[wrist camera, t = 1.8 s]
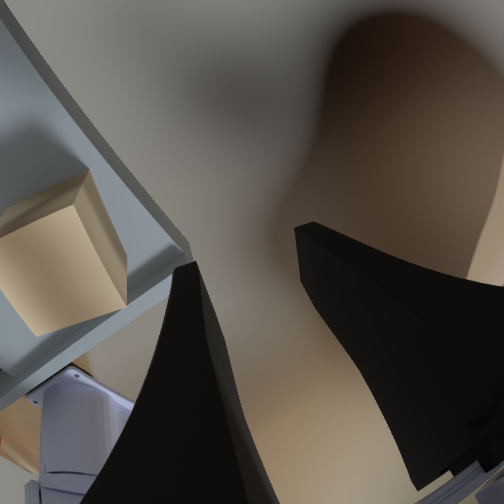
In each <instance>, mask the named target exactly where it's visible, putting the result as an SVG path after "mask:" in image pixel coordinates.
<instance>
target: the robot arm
mask: <svg viewBox="0 0 504 504" xmlns="http://www.w3.org/2000/svg"><path fill="white" fill-rule="evenodd" d="M294 231H295V238H296V246H297V254H298V262H299V270H300V279H301V283H302V284H303V286H304V288H305V290H306V292H307V294H308V296H309V298H310V299H311V301H312V303H313V305H314V307H315V308H316V310H317V311H318V313H319V314H320V316H321V317H322V318H323V320H324V321H325V323H326V324H327V325H328V327H329V328H330V330H331V331H332V332H333V334H334V335H335V336H336V338H337V339H338V341H339V342H340V343H341V345H342V346H343V348H344V349H345V350H346V352H347V353H348V354H349V356H350V357H351V359H352V360H353V362H354V363H355V365H356V366H357V368H358V369H359V371H360V372H361V374H362V376H363V378H364V380H365V382H366V383H367V385H368V387H369V389H370V391H371V392H372V394H373V396H374V398H375V400H376V402H377V404H378V406H379V408H380V410H381V412H382V414H383V416H384V418H385V420H386V422H387V424H388V426H389V429H390V430H391V433H392V435H393V437H394V439H395V442H396V444H397V446H398V449H399V451H400V453H401V456H402V458H403V461H404V463H405V466H406V468H407V471H408V473H409V476H410V479H411V481H412V483H413V485H414V486H415V488H416V489H417V491H419V490H421V489H423V488H424V487H426V486H427V485H429V484H430V483H432V482H433V481H434V480H436V479H438V478H439V477H440V476H442V475H443V474H445V473H446V472H448V471H449V470H450V472H451V473H452V475H453V476H454V477H453V478H452V479H451V480H449V481H448V482H446V483H445V484H444V485H442V486H441V487H439V488H438V489H436V490H435V491H434V492H432V493H431V494H429V495H427V496H426V497H424V498H423V499H421V500H420V501H418V502H416V503H415V504H458V503H459V502H460V501H462V500H463V499H464V498H466V497H467V496H468V495H469V494H470V493H472V492H473V491H474V490H476V489H477V488H478V487H479V486H480V485H482V484H483V483H484V482H485V481H486V480H487V479H489V478H490V477H491V476H492V475H493V474H494V473H495V472H496V471H498V470H499V469H500V468H501V467H502V466H503V465H504V287H502V286H495V285H490V284H485V283H480V282H475V281H471V280H467V279H462V278H458V277H454V276H450V275H447V274H443V273H440V272H437V271H434V270H431V269H427V268H424V267H421V266H418V265H415V264H412V263H410V262H407V261H404V260H402V259H399V258H397V257H394V256H392V255H389V254H386V253H384V252H382V251H379V250H377V249H375V248H372V247H370V246H368V245H366V244H363V243H361V242H359V241H357V240H354V239H352V238H350V237H348V236H345V235H344V234H341V233H339V232H337V231H335V230H333V229H330V228H328V227H326V226H323V225H321V224H319V223H316V222H310V223H307V224H304V225H301V226H298V227H295V228H294ZM27 400H28V401H29V402H31V403H33V404H35V405H36V406H38V407H40V408H42V417H41V433H40V475H39V481H38V482H37V481H35V480H30V482H29V483H27V484H25V504H280V503H279V501H278V499H277V496H276V495H275V492H274V490H273V487H272V485H271V483H270V480H269V478H268V476H267V473H266V471H265V468H264V466H263V463H262V461H261V458H260V456H259V454H258V451H257V449H256V446H255V443H254V441H253V438H252V436H251V433H250V430H249V428H248V425H247V423H246V420H245V417H244V414H243V410H242V407H241V404H240V400H239V396H238V392H237V388H236V384H235V380H234V376H233V372H232V368H231V363H230V360H229V355H228V351H227V347H226V343H225V339H224V336H223V333H222V331H221V328H220V325H219V322H218V319H217V316H216V313H215V310H214V308H213V305H212V303H211V300H210V297H209V295H208V292H207V289H206V287H205V284H204V281H203V278H202V276H201V273H200V270H199V267H198V265H197V262H196V261H194V262H191V263H188V264H185V265H182V266H179V267H176V268H175V269H174V271H173V274H172V282H171V288H170V294H169V299H168V303H167V308H166V312H165V316H164V320H163V324H162V328H161V332H160V335H159V338H158V342H157V345H156V349H155V352H154V355H153V358H152V361H151V364H150V367H149V370H148V372H147V375H146V378H145V380H144V383H143V385H142V388H141V391H140V393H139V395H138V398H137V400H136V402H134V401H132V400H130V399H129V398H126V397H125V396H123V395H121V394H120V393H118V392H116V391H114V390H112V389H111V388H109V387H107V386H105V385H104V384H102V383H100V382H99V381H97V380H95V379H94V378H92V377H91V376H89V375H87V374H86V373H84V372H82V371H81V370H79V369H78V368H76V367H74V366H69V367H67V368H65V369H64V370H62V371H61V372H60V373H58V374H57V375H55V376H54V377H52V378H51V379H49V380H48V381H46V382H45V383H43V384H42V385H41V386H39V387H38V388H36V389H35V390H33V391H32V392H30V393H29V394H27ZM475 498H476V499H477V501H476V502H475V503H474V504H504V468H503V469H501V470H500V471H499V472H497V473H496V474H495V475H494V476H493V477H491V478H490V479H489V480H488V481H487V482H486V483H485V484H484V485H483V486H482V487H481V489H480V490H479V491H478V492H477V493H476V494H475Z"/></svg>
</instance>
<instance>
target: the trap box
mask: <svg viewBox="0 0 504 504" xmlns="http://www.w3.org/2000/svg"><path fill="white" fill-rule="evenodd" d="M89 169H90V171H91V174H92V176H93V179H94V181H95V184H96V186H97V189H98V191H99V193H100V196H101V198H102V201H103V203H104V205H105V208H106V210H107V212H108V215H109V217H110V219H111V221H112V224H113V226H114V228H115V230H116V233H117V235H118V237H119V239H120V241H121V243H122V246H123V248H124V250H125V252H126V254H127V307H126V308H123V309H120V310H117V311H114V312H111V313H108V314H105V315H102V316H99V317H96V318H93V319H90V320H87V321H84V322H80V323H77V324H74V325H71V326H68V327H65V328H62V329H59V330H56V331H53V332H50V333H47V334H44V335H40V336H37V337H36V336H35V335H34V333H33V332H32V331H31V330H30V328H29V327H28V326H27V325H26V323H25V322H24V321H23V319H22V318H21V317H20V316H19V314H18V313H17V312H16V310H15V309H14V308H13V306H12V305H11V303H10V302H9V301H8V299H7V298H6V296H5V295H4V294H3V292H2V291H1V289H0V369H2V370H1V371H0V411H2V410H3V409H4V408H6V407H7V406H9V405H10V404H11V403H13V402H14V401H16V400H17V399H19V398H20V397H22V396H23V395H24V394H26V393H27V392H29V391H30V390H32V389H33V388H34V387H36V386H37V385H39V384H40V383H42V382H43V381H45V380H46V379H47V378H49V377H50V376H52V375H53V374H55V373H56V372H58V371H59V370H60V369H62V368H63V367H65V366H66V365H68V364H69V363H71V362H72V361H73V360H75V359H76V358H78V357H79V356H81V355H82V354H84V353H85V352H87V351H88V350H89V349H91V348H92V347H94V346H95V345H97V344H98V343H100V342H101V341H103V340H104V339H106V338H107V337H108V336H110V335H111V334H113V333H114V332H116V331H117V330H119V329H120V328H121V327H123V326H124V325H126V324H128V323H129V322H131V321H132V320H133V319H135V318H136V317H138V316H139V315H141V314H142V313H144V312H145V311H147V310H148V309H149V308H151V307H153V306H154V305H156V304H157V303H159V302H160V301H161V300H163V299H164V298H166V297H167V296H169V294H170V288H171V282H172V274H173V271H174V269H175V268H176V267H179V266H182V265H185V264H188V263H191V262H194V260H193V256H192V253H191V249H190V245H189V242H188V241H187V240H186V238H185V237H184V236H183V235H182V234H181V232H180V231H179V230H178V229H177V228H176V227H175V225H174V224H173V223H172V222H171V221H170V219H169V218H168V217H167V216H166V215H165V213H164V212H163V211H162V210H161V209H160V208H159V206H158V205H157V204H156V203H155V201H154V200H153V199H152V198H151V197H150V195H149V194H148V193H147V192H146V190H145V189H144V188H143V187H142V186H141V185H140V183H139V182H138V181H137V180H136V178H135V177H134V176H133V174H132V173H131V172H130V171H129V170H128V168H127V167H126V166H125V165H124V163H123V162H122V161H121V160H120V158H119V157H118V156H117V155H116V153H115V152H114V151H113V149H112V148H111V147H110V146H109V144H108V143H107V142H106V141H105V139H104V138H103V137H102V135H101V134H100V133H99V132H98V130H97V129H96V128H95V126H93V124H92V123H91V121H90V120H89V119H88V117H87V116H86V115H85V114H84V112H83V111H82V109H81V108H80V107H79V106H78V104H77V103H76V102H75V100H74V99H73V98H72V96H71V95H70V94H69V92H68V91H67V90H66V88H65V87H64V86H63V84H62V83H61V82H60V80H59V79H58V77H57V76H56V75H55V73H54V72H53V71H52V69H51V68H50V67H49V65H48V64H47V63H46V61H45V60H44V58H43V57H42V56H41V54H40V53H39V51H38V50H37V48H36V47H35V46H34V44H33V43H32V41H31V40H30V39H29V37H28V36H27V34H26V33H25V31H24V30H23V28H22V27H21V26H20V24H19V23H18V21H17V20H16V18H15V17H14V15H13V14H12V12H11V11H10V9H9V8H8V6H7V5H6V3H5V2H4V0H0V216H1V215H2V214H3V212H4V211H5V210H6V208H8V207H10V206H12V205H14V204H16V203H18V202H20V201H22V200H24V199H26V198H28V197H30V196H32V195H34V194H36V193H38V192H40V191H42V190H44V189H46V188H48V187H50V186H53V185H55V184H57V183H59V182H61V181H64V180H66V179H68V178H70V177H73V176H75V175H77V174H80V173H82V172H85V171H87V170H89Z"/></svg>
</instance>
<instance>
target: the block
mask: <svg viewBox="0 0 504 504" xmlns="http://www.w3.org/2000/svg"><path fill="white" fill-rule="evenodd" d="M0 289H1V291H2V292H3V294H4V295H5V296H6V298H7V299H8V301H9V302H10V303H11V305H12V306H13V308H14V309H15V310H16V312H17V313H18V314H19V316H20V317H21V318H22V319H23V321H24V322H25V323H26V325H27V326H28V327H29V328H30V330H31V331H32V332H33V333H34V335H35V336H36V337H37V336H40V335H44V334H47V333H50V332H53V331H56V330H59V329H62V328H65V327H68V326H71V325H74V324H77V323H80V322H84V321H87V320H90V319H93V318H96V317H99V316H102V315H105V314H108V313H111V312H114V311H117V310H120V309H123V308H126V307H127V254H126V252H125V250H124V248H123V246H122V243H121V241H120V239H119V237H118V235H117V233H116V230H115V228H114V226H113V224H112V221H111V219H110V217H109V215H108V212H107V210H106V208H105V205H104V203H103V201H102V198H101V196H100V193H99V191H98V189H97V186H96V184H95V181H94V179H93V176H92V174H91V171H90V169H89V170H87V171H85V172H82V173H80V174H77V175H75V176H73V177H70V178H68V179H66V180H64V181H61V182H59V183H57V184H55V185H53V186H50V187H48V188H46V189H44V190H42V191H40V192H38V193H36V194H34V195H32V196H30V197H28V198H26V199H24V200H22V201H20V202H18V203H16V204H14V205H12V206H10V207H8V208H6V210H5V211H4V212H3V214H2V215H1V216H0Z"/></svg>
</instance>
